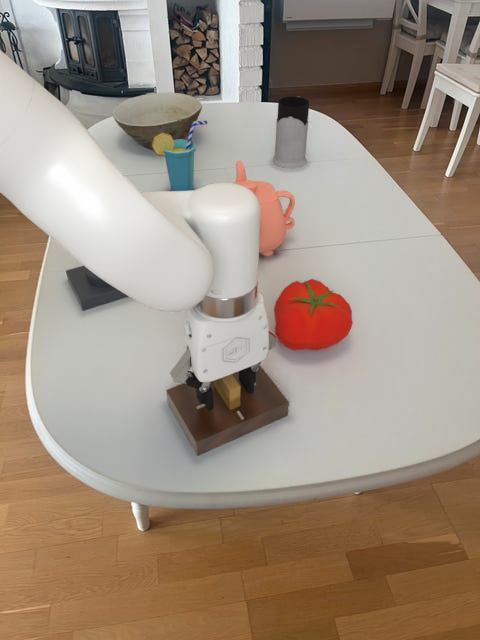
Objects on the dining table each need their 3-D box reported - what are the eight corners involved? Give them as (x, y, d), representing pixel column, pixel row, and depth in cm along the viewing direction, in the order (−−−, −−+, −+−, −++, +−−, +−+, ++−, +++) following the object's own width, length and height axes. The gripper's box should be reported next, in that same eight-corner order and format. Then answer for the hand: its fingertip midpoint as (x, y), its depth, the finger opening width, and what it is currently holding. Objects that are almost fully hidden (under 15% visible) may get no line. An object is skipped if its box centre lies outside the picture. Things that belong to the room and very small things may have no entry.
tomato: (343, 374, 79) (351, 331, 73) (262, 357, 81) (264, 315, 76) (353, 316, 89) (361, 275, 83) (281, 303, 91) (284, 262, 86)
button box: (82, 310, 90) (78, 292, 87) (67, 280, 96) (63, 262, 94) (148, 290, 94) (145, 272, 91) (129, 262, 101) (126, 245, 98)
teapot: (191, 249, 104) (187, 187, 95) (237, 214, 115) (238, 155, 106) (260, 276, 98) (263, 212, 89) (302, 236, 108) (308, 175, 99)
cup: (199, 174, 129) (196, 113, 119) (218, 185, 125) (216, 123, 115) (151, 190, 123) (143, 127, 113) (169, 203, 118) (163, 138, 108)
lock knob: (240, 406, 70) (240, 385, 68) (230, 410, 70) (229, 389, 67) (223, 381, 74) (223, 360, 71) (213, 385, 73) (212, 364, 70)
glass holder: (269, 166, 133) (272, 106, 123) (279, 144, 143) (283, 87, 133) (303, 169, 131) (309, 109, 121) (311, 147, 142) (317, 90, 132)
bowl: (101, 153, 138) (94, 116, 131) (140, 122, 155) (135, 87, 148) (184, 165, 133) (181, 126, 126) (214, 131, 150) (213, 95, 143)
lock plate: (197, 456, 68) (196, 441, 66) (167, 403, 75) (165, 389, 72) (287, 415, 73) (289, 401, 71) (252, 369, 80) (253, 355, 77)
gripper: (168, 335, 54) (180, 439, 66) (305, 287, 60) (293, 390, 72) (142, 295, 59) (158, 398, 71) (271, 255, 65) (266, 356, 77)
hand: (226, 393), depth 71 cm, fingers open, 5 cm apart
